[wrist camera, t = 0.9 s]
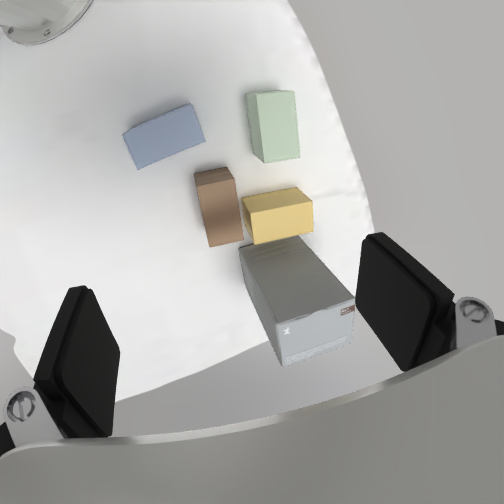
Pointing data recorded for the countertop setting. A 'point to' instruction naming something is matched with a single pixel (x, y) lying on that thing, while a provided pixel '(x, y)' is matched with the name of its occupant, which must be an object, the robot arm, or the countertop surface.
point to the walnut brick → (219, 206)
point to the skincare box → (297, 299)
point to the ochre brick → (277, 215)
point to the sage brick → (273, 125)
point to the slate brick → (164, 136)
